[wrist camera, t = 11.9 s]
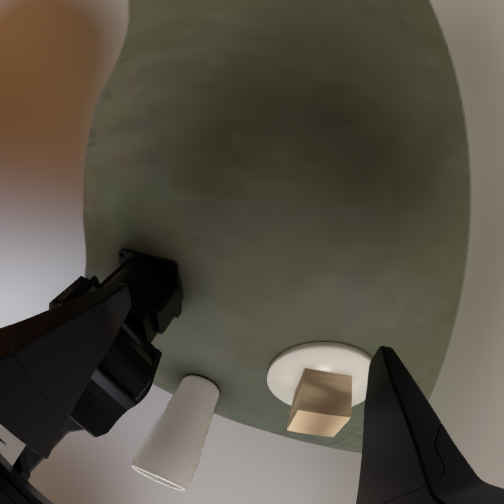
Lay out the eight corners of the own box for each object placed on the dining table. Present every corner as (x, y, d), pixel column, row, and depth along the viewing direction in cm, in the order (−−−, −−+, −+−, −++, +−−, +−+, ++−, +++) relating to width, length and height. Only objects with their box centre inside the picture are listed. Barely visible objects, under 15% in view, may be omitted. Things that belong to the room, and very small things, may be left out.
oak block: (294, 392, 28) (286, 430, 23) (305, 367, 25) (298, 409, 21) (336, 399, 27) (333, 437, 22) (351, 375, 24) (351, 417, 20)
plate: (262, 394, 31) (260, 400, 30) (278, 330, 25) (276, 338, 24) (353, 409, 29) (353, 416, 28) (395, 351, 23) (397, 359, 22)
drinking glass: (221, 375, 31) (175, 483, 18) (229, 402, 34) (193, 495, 21) (172, 365, 32) (119, 459, 20) (186, 392, 35) (144, 476, 23)
